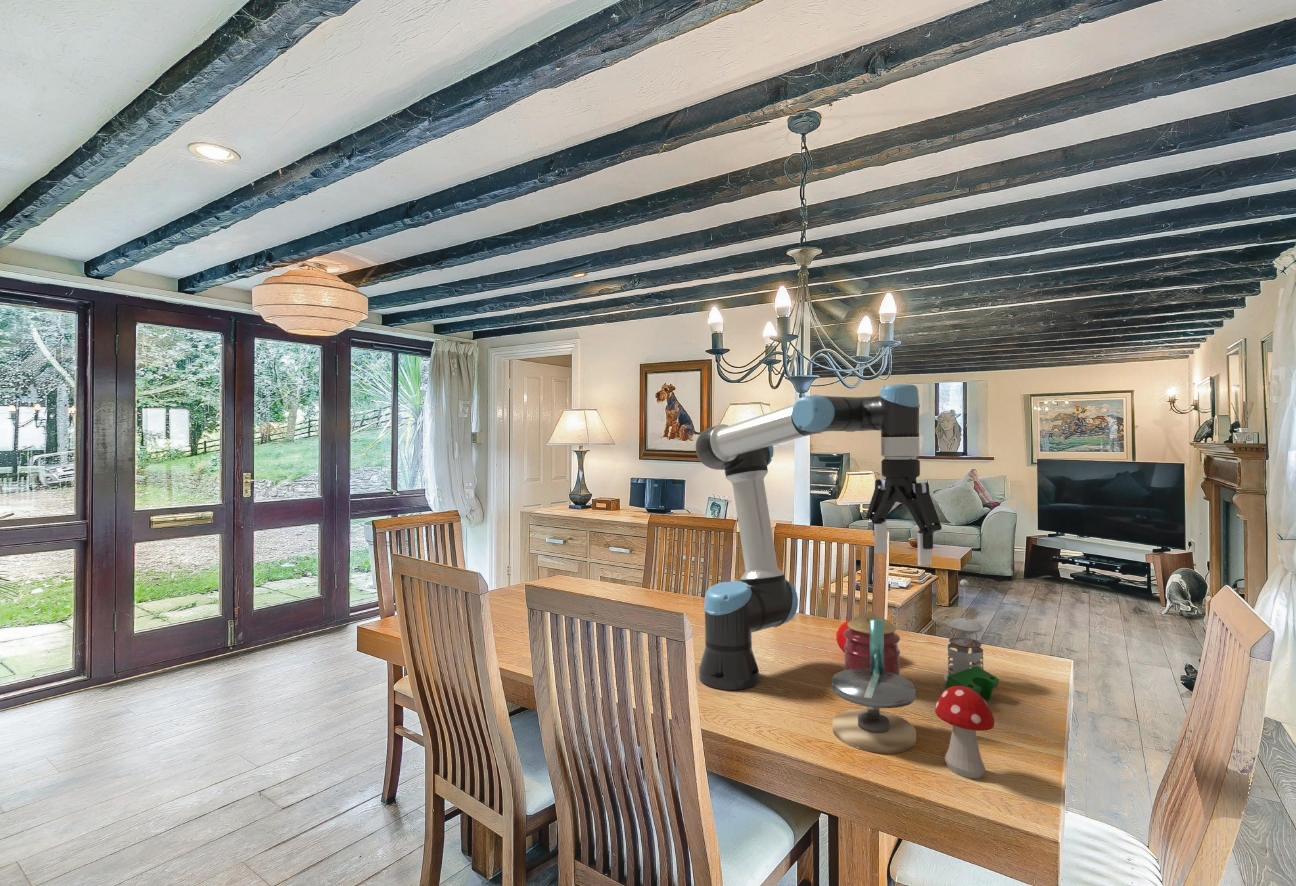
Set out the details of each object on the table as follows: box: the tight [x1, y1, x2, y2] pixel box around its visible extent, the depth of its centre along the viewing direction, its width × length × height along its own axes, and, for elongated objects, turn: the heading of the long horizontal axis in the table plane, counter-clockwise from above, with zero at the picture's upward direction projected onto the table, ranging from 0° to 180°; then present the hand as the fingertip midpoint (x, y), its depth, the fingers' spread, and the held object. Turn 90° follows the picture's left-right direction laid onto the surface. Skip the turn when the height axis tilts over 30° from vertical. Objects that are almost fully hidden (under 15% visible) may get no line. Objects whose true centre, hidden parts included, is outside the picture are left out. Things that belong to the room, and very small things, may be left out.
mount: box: [832, 708, 917, 755], centre depth 126 cm, size 16×16×3 cm
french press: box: [943, 579, 984, 682], centre depth 152 cm, size 10×12×25 cm
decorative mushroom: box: [934, 686, 995, 780], centre depth 111 cm, size 10×9×15 cm
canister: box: [844, 611, 901, 676], centre depth 151 cm, size 13×13×18 cm
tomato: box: [835, 616, 856, 654], centre depth 169 cm, size 13×12×11 cm
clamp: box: [944, 666, 1000, 701], centre depth 141 cm, size 12×6×9 cm, turn 114°
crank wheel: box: [831, 618, 917, 720], centre depth 126 cm, size 16×16×18 cm
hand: (901, 558), depth 130 cm, fingers open, 13 cm apart
